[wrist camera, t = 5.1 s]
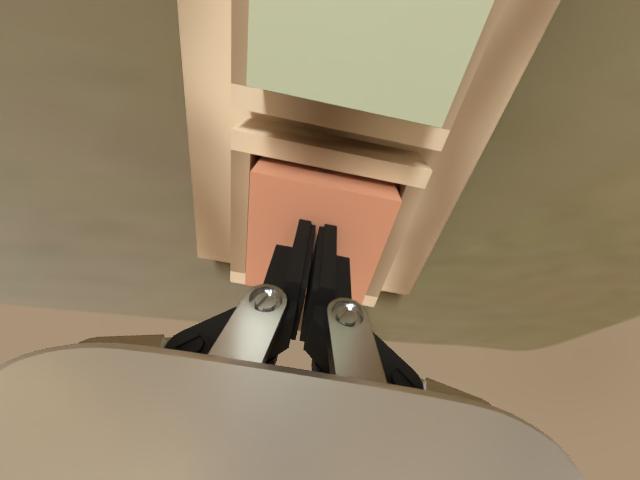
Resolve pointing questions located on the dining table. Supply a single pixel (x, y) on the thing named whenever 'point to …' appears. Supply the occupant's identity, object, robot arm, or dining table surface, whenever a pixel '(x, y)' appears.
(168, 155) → the dining table surface
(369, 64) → the sage button
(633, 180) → the dining table surface
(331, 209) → the terracotta button
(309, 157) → the button panel
